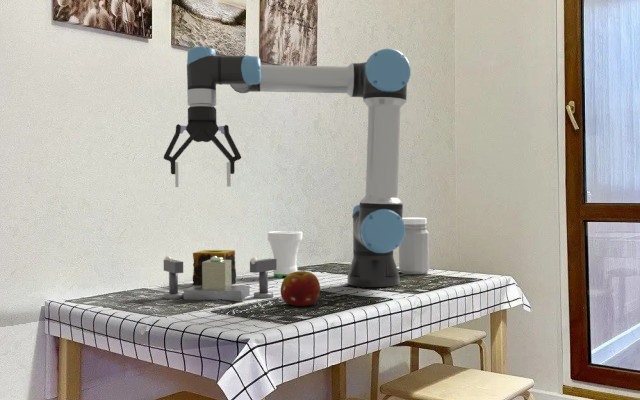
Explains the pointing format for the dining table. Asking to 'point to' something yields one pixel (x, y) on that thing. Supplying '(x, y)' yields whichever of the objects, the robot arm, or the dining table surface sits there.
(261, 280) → the knob
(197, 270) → the candle
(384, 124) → the robot arm
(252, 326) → the dining table surface
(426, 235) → the jar
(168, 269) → the knob
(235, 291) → the level base
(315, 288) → the fruit
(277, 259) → the cup
